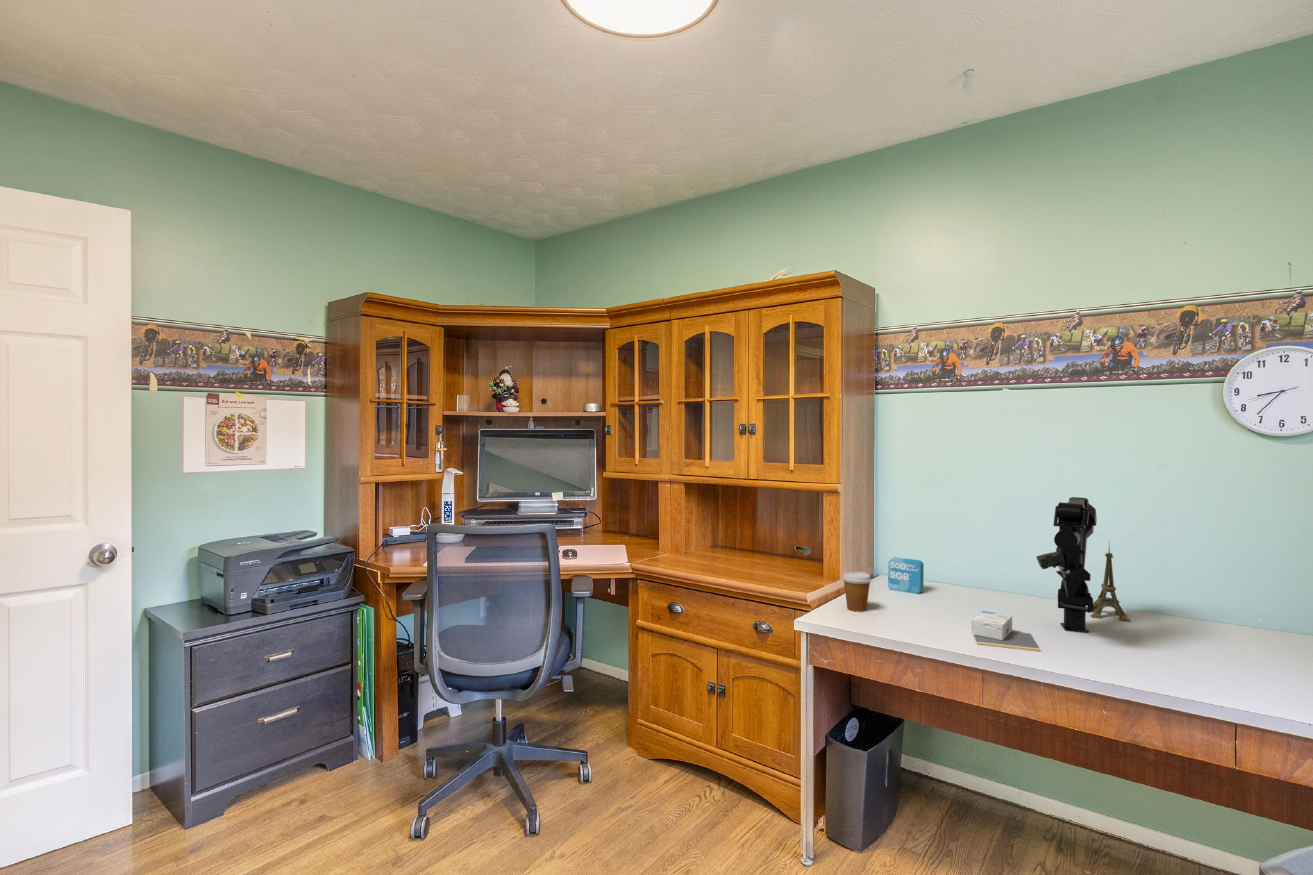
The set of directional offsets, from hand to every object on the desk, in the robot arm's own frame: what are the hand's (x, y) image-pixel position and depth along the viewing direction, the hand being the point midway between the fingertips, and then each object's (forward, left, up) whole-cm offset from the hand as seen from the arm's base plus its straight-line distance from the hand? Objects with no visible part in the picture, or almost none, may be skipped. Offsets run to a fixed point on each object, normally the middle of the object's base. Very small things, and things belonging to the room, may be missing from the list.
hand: (1069, 597), depth 191 cm
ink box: (-3, -19, -10) cm, 21 cm away
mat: (+7, -18, -12) cm, 23 cm away
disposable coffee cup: (-10, -61, -13) cm, 63 cm away
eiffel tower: (-32, +18, -13) cm, 39 cm away
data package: (-42, -45, -13) cm, 63 cm away
